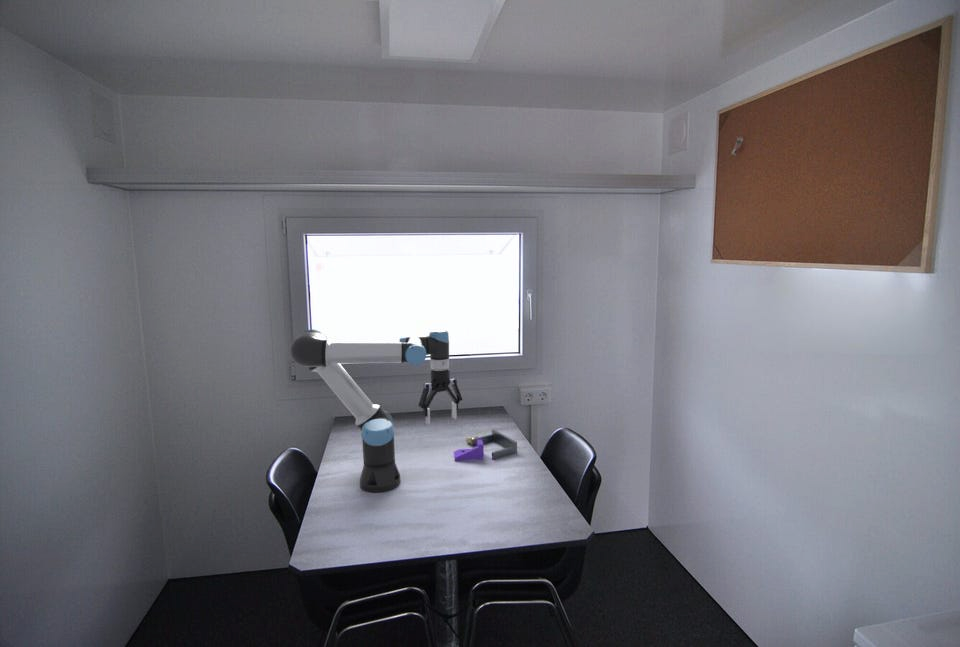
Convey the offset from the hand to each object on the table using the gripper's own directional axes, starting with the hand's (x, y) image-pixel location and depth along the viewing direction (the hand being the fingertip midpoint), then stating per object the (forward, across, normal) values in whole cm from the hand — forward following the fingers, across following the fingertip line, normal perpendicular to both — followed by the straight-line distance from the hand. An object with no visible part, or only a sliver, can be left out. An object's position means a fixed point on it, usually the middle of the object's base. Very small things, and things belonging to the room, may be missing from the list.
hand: (441, 420), depth 208 cm
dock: (+18, +25, 0) cm, 30 cm away
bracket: (+19, +12, -1) cm, 22 cm away
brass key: (+18, +22, +12) cm, 31 cm away
